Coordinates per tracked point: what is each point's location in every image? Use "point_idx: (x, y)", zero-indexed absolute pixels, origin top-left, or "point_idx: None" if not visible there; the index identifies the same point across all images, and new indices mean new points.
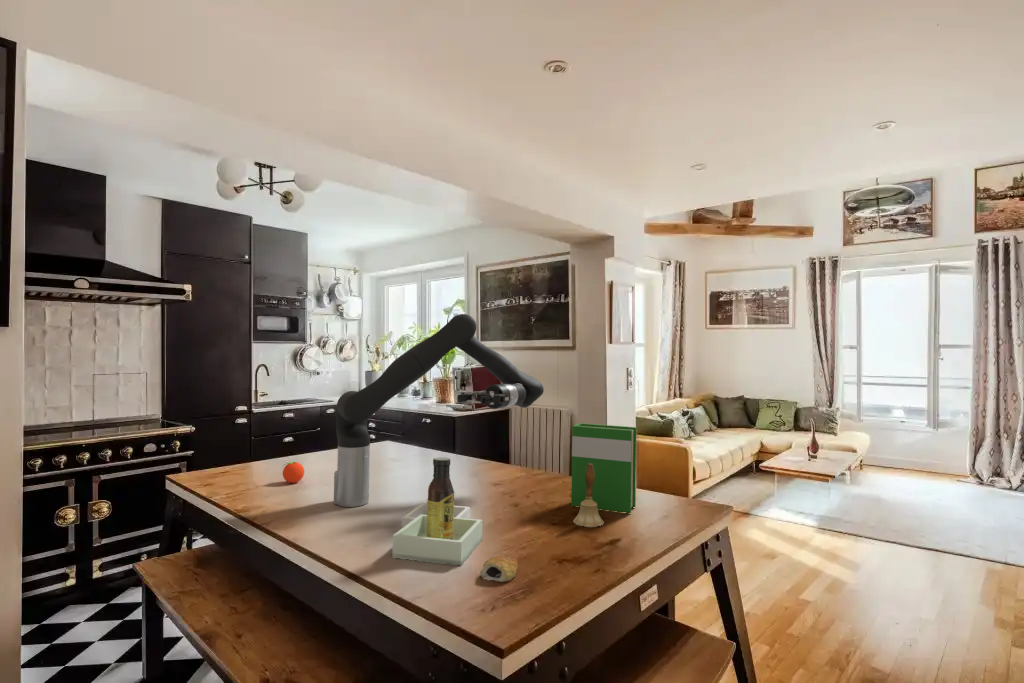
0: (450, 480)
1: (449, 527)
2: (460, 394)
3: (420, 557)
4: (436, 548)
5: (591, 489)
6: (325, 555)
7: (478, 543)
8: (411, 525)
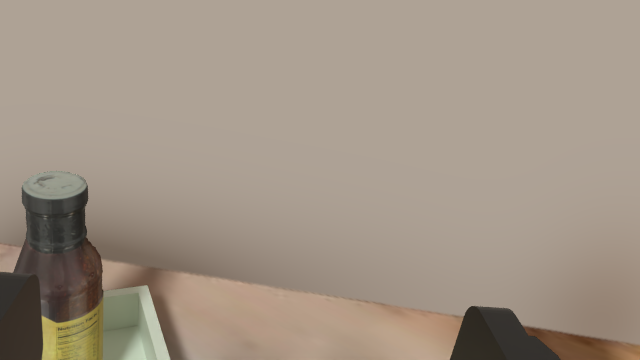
0: (25, 255)
1: None
2: (532, 345)
3: None
4: None
5: None
6: (274, 291)
7: None
8: (151, 342)
